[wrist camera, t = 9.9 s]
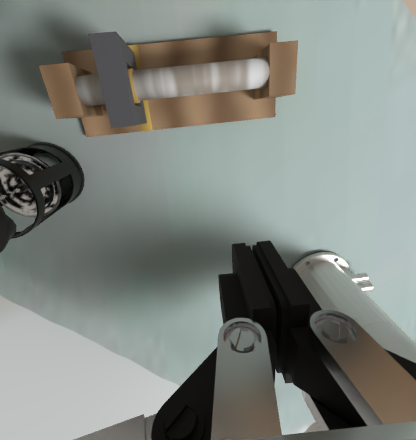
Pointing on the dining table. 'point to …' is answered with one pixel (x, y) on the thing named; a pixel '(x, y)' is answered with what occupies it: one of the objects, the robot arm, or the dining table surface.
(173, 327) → the dining table surface
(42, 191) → the french press
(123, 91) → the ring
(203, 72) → the pipe stand
